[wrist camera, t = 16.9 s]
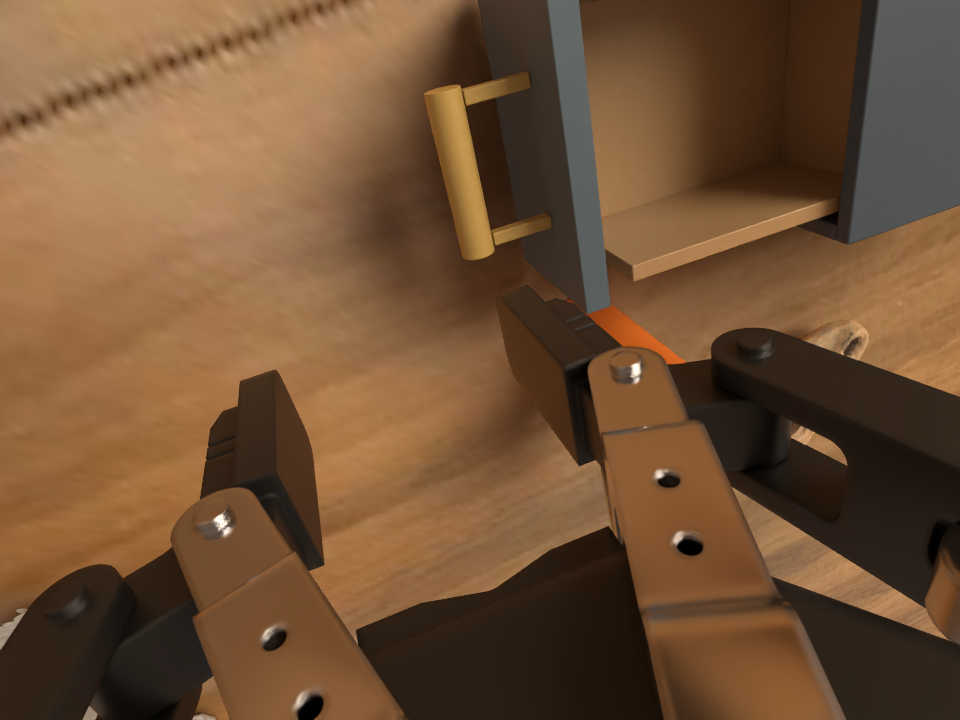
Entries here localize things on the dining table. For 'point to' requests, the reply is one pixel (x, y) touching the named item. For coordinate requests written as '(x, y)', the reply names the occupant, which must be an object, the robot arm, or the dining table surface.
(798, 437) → the pottery oil lamp
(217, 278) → the dining table surface
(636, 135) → the drawer
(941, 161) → the cabinet
